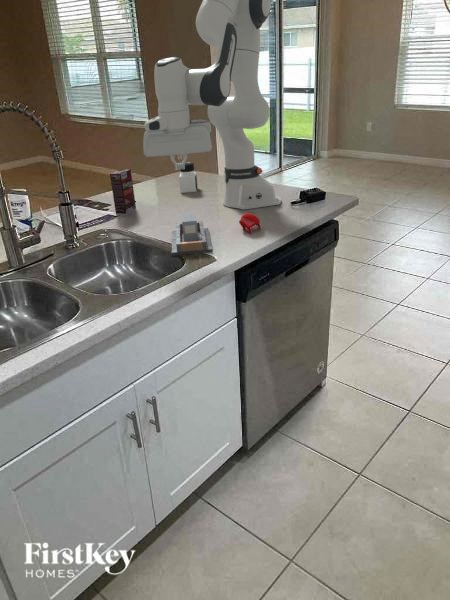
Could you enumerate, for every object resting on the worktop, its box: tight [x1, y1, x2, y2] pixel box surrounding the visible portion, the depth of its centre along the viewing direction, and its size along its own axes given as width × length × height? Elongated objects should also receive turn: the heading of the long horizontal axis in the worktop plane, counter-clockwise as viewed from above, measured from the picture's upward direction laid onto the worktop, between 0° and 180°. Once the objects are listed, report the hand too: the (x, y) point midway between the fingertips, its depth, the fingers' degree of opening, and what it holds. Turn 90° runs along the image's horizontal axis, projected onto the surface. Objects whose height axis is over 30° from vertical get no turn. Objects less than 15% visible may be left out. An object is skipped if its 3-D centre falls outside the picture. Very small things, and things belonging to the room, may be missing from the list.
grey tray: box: [171, 220, 213, 257], centre depth 148 cm, size 12×20×4 cm, turn 5°
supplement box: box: [109, 168, 137, 217], centre depth 179 cm, size 9×5×16 cm, turn 163°
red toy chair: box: [238, 212, 261, 234], centre depth 155 cm, size 8×6×6 cm
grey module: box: [181, 213, 198, 242], centre depth 147 cm, size 4×7×7 cm, turn 5°
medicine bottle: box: [178, 161, 198, 194], centre depth 205 cm, size 7×7×12 cm
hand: (180, 169), depth 142 cm, fingers closed
